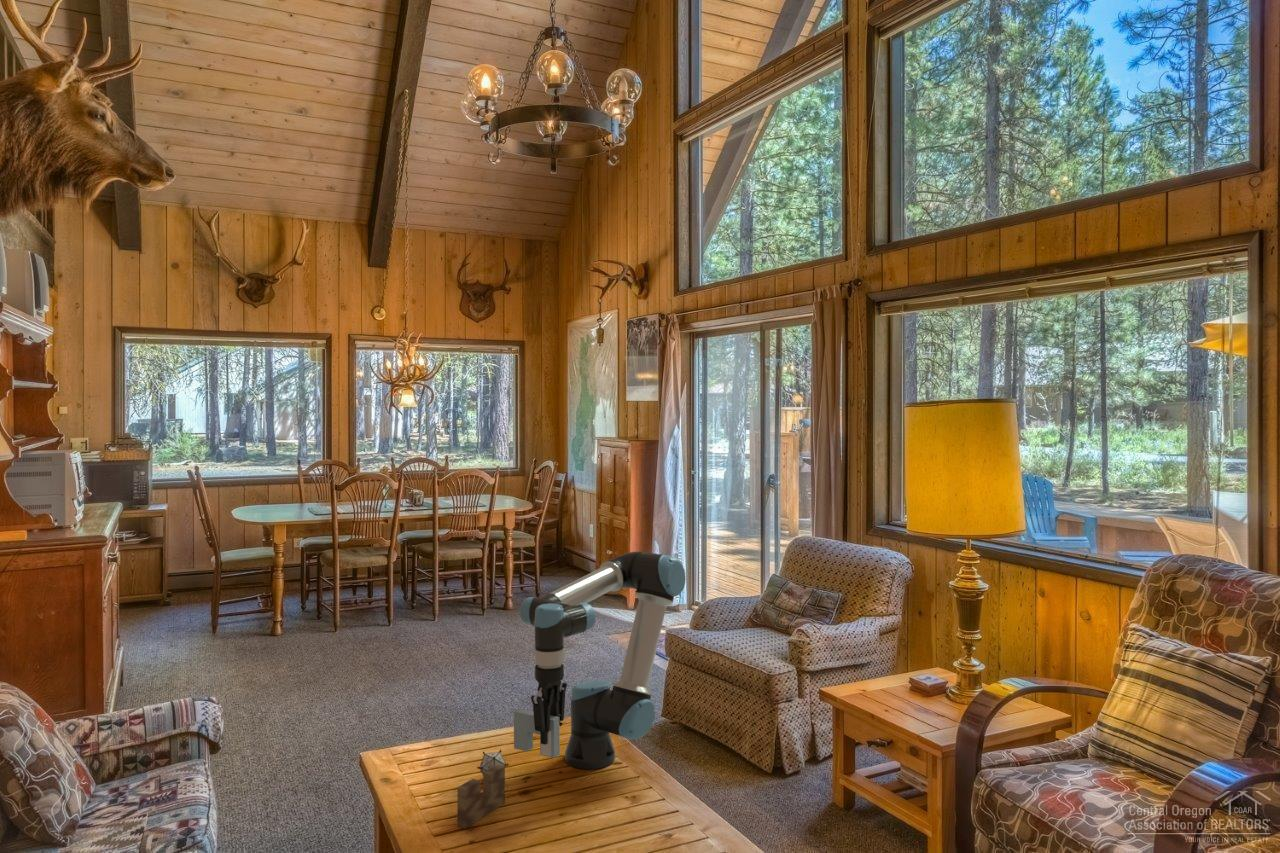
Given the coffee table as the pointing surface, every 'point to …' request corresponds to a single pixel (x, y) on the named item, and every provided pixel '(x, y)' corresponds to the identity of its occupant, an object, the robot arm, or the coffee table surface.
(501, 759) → the game die
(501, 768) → the base plank
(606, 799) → the coffee table surface
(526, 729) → the cross plank
